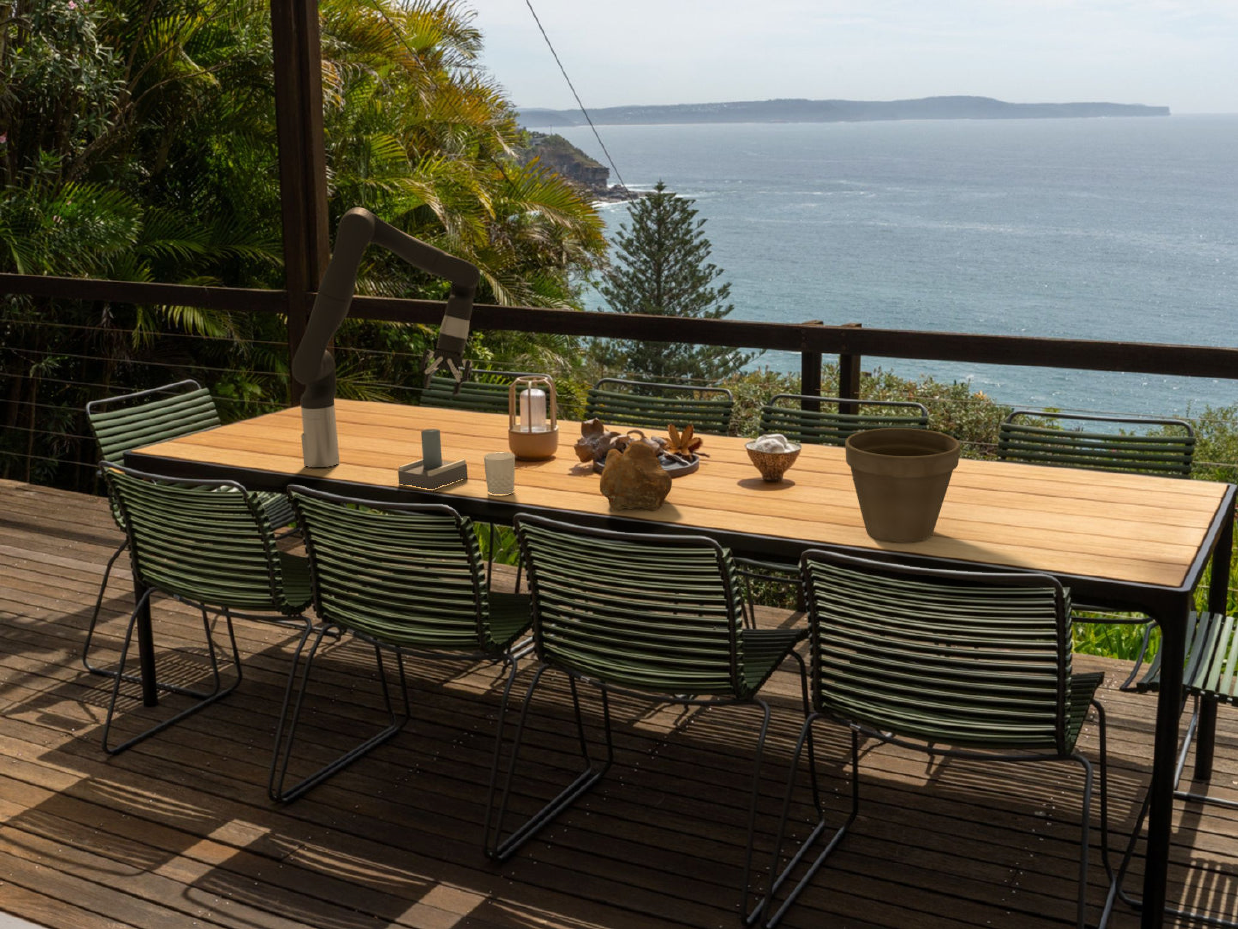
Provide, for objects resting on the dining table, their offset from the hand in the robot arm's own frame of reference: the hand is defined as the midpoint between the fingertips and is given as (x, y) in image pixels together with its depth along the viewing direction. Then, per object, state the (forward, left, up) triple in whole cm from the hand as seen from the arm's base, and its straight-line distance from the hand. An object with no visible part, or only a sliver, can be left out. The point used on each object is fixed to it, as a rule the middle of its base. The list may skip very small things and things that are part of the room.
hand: (440, 391), depth 330 cm
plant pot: (+116, -61, -22) cm, 132 cm away
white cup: (+20, -26, -22) cm, 39 cm away
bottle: (0, -14, -18) cm, 23 cm away
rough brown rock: (+56, -37, -22) cm, 71 cm away
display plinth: (0, -15, -22) cm, 26 cm away
